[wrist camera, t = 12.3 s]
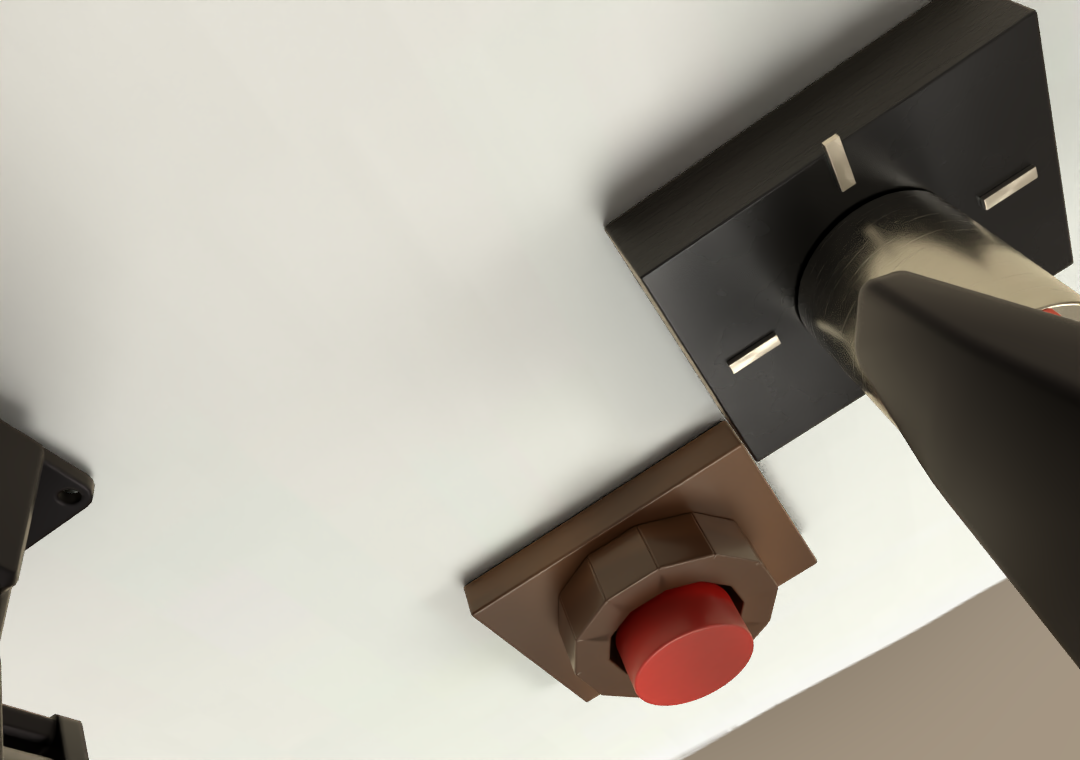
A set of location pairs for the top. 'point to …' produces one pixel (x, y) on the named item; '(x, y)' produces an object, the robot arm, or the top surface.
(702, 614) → the button
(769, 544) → the switch block
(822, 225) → the dimmer panel
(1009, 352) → the robot arm
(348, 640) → the top surface
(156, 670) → the top surface
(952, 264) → the dimmer knob
